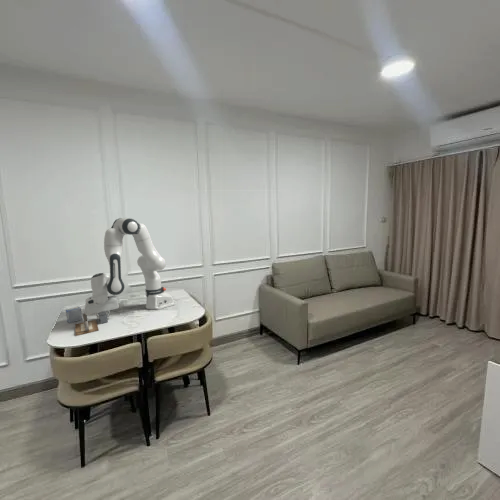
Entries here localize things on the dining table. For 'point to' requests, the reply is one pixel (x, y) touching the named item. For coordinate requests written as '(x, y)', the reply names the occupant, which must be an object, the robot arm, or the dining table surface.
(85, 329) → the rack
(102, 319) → the grey round-headed bar
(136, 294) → the dining table surface
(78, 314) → the medicine box
